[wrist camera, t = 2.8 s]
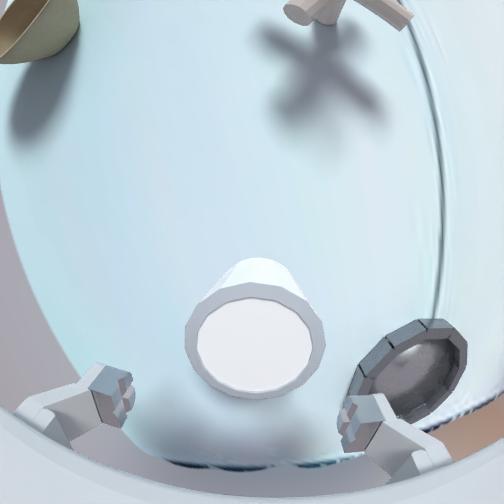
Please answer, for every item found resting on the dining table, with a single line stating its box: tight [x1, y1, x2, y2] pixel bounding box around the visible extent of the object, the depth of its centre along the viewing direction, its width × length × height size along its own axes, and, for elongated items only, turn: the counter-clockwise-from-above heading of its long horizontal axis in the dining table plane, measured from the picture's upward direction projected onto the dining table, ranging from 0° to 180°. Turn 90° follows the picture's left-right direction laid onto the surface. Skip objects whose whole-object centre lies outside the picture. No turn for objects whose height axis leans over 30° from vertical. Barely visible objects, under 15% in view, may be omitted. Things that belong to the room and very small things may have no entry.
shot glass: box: [185, 257, 326, 400], centre depth 16 cm, size 7×7×7 cm
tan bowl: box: [0, 0, 79, 64], centre depth 11 cm, size 10×10×7 cm
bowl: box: [348, 319, 468, 425], centre depth 19 cm, size 12×12×2 cm
